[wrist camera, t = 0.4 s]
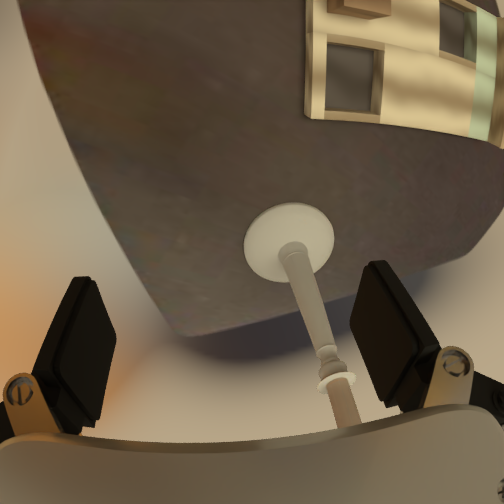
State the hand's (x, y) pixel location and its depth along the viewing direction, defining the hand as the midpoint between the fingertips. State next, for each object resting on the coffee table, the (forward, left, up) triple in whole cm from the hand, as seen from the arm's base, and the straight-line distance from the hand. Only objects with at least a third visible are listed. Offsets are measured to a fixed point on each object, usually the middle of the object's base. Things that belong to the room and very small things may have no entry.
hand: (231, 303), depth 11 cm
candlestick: (+17, +9, -29) cm, 34 cm away
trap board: (-11, +24, -29) cm, 39 cm away
